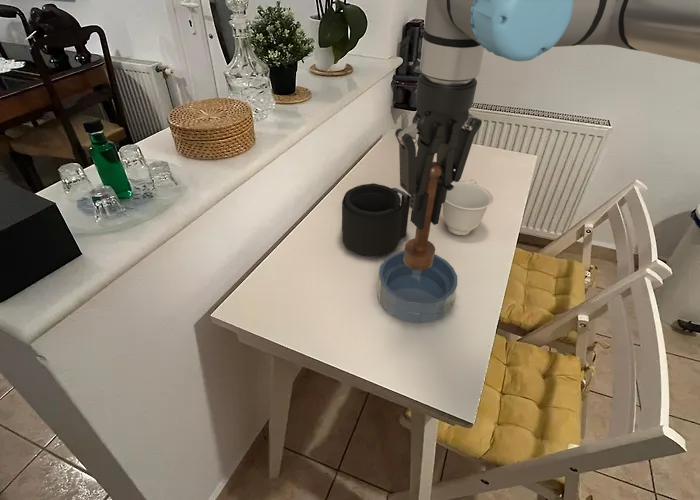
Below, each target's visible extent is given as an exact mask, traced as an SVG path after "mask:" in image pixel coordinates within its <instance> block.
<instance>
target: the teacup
mask: <svg viewBox="0 0 700 500" xmlns="http://www.w3.org/2000/svg"><path fill="white" fill-rule="evenodd" d="M451 184H452V185H453V186H454V187H453V189H452V190H451V191H448V190H447V194H446V200H445V202H444V203H443V204H442V218H443V222H444V223H445V225H446V226H447V230H448V231H449V232H450V233H452V234H454V235H458V236H466V235H468V234H470V233H471V231H473V230H475V229H476V228H477V227H479V225H480V224H481V222H482V220H483V218H484V215H485V214H486V211H487V208H488V207H490V206H491V205H492V204H493V202H494V197H493V195H492V193H491V191H490V190H489V189H487V188H486V187H484V186H483V185H481V184H479V183H477V180H476V179H470V181H462V180H459V181H458V182H455V181H454V182H452V183H451Z"/></svg>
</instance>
